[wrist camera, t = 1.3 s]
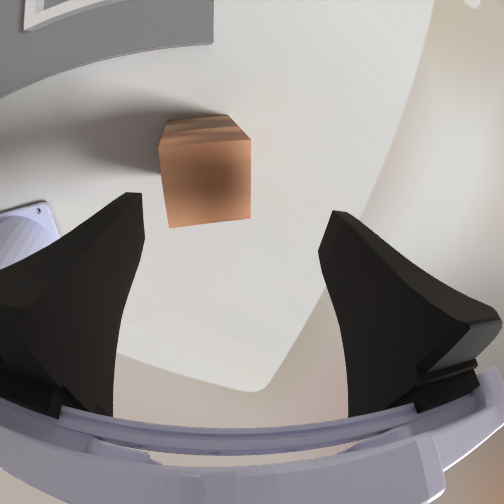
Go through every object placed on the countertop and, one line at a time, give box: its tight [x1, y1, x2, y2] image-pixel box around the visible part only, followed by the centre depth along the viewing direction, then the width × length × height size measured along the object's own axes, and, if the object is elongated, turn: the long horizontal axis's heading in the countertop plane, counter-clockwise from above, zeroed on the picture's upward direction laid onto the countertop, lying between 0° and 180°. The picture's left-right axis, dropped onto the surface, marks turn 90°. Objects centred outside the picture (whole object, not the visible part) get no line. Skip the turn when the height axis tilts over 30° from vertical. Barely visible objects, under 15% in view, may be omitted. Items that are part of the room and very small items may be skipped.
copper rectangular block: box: [158, 115, 251, 228], centre depth 15 cm, size 4×4×7 cm
